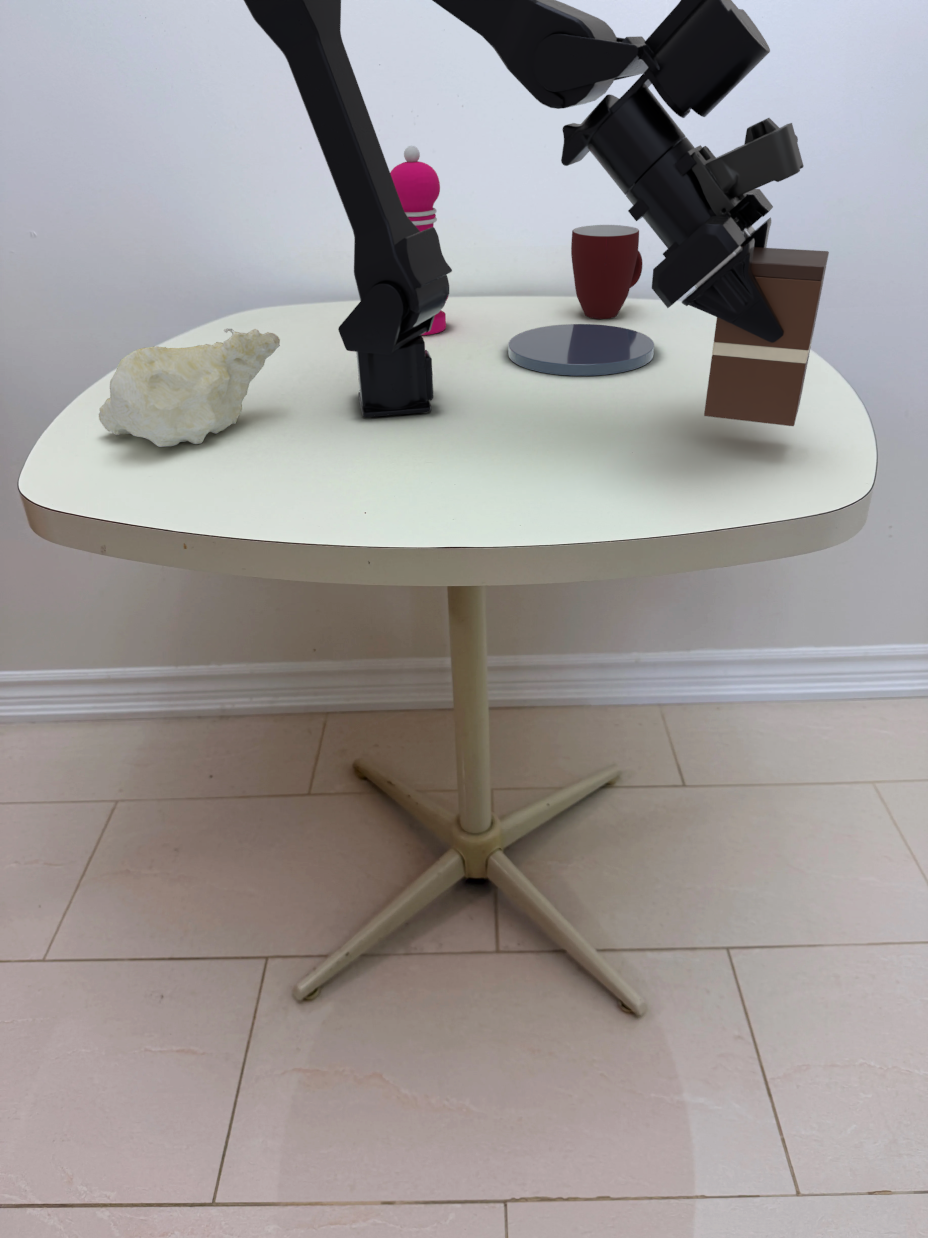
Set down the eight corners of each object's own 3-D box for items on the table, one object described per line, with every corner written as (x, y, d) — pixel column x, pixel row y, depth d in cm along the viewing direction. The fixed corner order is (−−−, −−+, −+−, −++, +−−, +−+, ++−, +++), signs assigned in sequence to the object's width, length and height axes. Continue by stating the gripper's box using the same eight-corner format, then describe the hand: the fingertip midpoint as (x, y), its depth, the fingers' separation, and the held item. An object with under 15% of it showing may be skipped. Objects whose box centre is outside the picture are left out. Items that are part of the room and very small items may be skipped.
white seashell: (93, 489, 77) (196, 388, 69) (54, 415, 77) (152, 307, 70) (218, 477, 90) (316, 391, 83) (184, 414, 91) (279, 323, 83)
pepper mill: (461, 325, 111) (456, 143, 100) (428, 339, 106) (419, 149, 95) (413, 318, 115) (403, 141, 104) (379, 332, 109) (365, 147, 99)
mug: (606, 300, 120) (610, 219, 114) (657, 310, 115) (664, 225, 110) (555, 316, 113) (558, 231, 108) (607, 327, 109) (612, 238, 103)
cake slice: (703, 416, 73) (724, 260, 66) (714, 394, 77) (734, 245, 70) (793, 426, 71) (824, 266, 64) (799, 403, 75) (829, 250, 68)
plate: (526, 381, 92) (526, 369, 92) (495, 339, 106) (495, 329, 105) (675, 369, 94) (676, 357, 94) (626, 329, 108) (627, 319, 107)
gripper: (721, 84, 55) (873, 283, 57) (763, 72, 70) (883, 232, 72) (590, 217, 62) (731, 390, 64) (653, 182, 77) (766, 324, 79)
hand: (783, 328), depth 70 cm, fingers closed on cake slice, 5 cm apart
